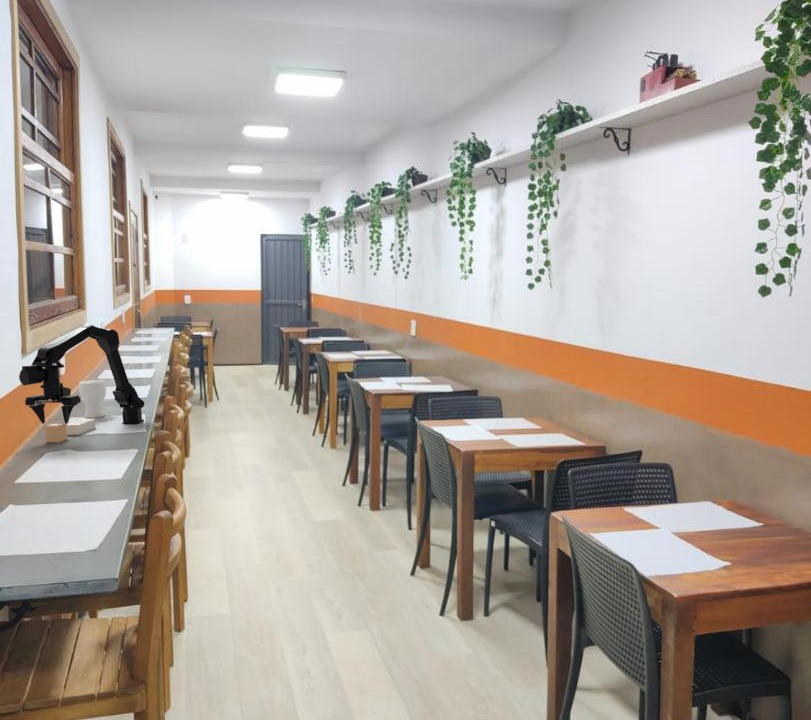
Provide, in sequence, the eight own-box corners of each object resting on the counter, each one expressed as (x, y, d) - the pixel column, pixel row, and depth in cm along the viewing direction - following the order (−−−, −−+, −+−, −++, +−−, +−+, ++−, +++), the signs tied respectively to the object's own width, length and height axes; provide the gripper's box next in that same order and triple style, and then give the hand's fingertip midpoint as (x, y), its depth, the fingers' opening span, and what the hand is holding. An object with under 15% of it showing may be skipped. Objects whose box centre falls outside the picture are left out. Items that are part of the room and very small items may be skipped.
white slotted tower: (95, 427, 295) (94, 418, 294) (77, 434, 283) (77, 425, 283) (83, 427, 296) (83, 418, 295) (65, 434, 284) (64, 425, 283)
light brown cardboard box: (67, 439, 276) (65, 422, 275) (58, 442, 271) (57, 425, 271) (54, 439, 277) (53, 422, 276) (46, 442, 272) (44, 425, 271)
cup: (75, 417, 316) (72, 382, 314) (96, 413, 326) (93, 379, 324) (93, 419, 311) (90, 384, 309) (113, 414, 321) (111, 380, 319)
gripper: (87, 377, 278) (91, 418, 280) (41, 377, 281) (45, 418, 283) (69, 382, 267) (73, 425, 269) (22, 382, 270) (26, 425, 272)
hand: (55, 423), depth 273 cm, fingers open, 9 cm apart
